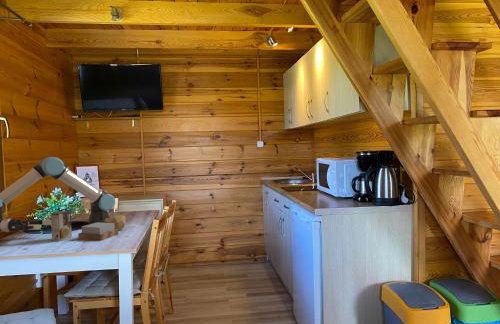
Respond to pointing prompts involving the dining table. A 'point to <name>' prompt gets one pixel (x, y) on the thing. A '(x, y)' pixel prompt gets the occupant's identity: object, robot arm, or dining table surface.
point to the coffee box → (61, 226)
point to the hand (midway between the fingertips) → (46, 224)
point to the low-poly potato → (117, 222)
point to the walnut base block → (98, 235)
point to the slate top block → (98, 228)
